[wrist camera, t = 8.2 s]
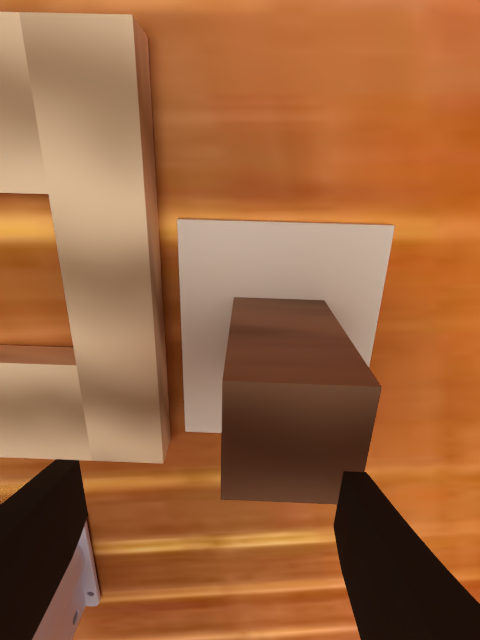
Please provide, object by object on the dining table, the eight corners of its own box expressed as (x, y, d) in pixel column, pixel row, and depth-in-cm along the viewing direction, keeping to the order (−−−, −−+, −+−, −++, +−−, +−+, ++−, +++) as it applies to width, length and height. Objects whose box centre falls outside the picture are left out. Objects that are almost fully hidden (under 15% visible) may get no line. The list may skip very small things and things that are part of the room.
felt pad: (354, 432, 21) (356, 437, 20) (186, 426, 21) (185, 431, 20) (390, 224, 16) (394, 225, 16) (179, 218, 16) (177, 219, 16)
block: (314, 379, 19) (357, 504, 11) (231, 376, 19) (220, 499, 11) (324, 300, 17) (381, 387, 10) (233, 296, 17) (222, 380, 10)
